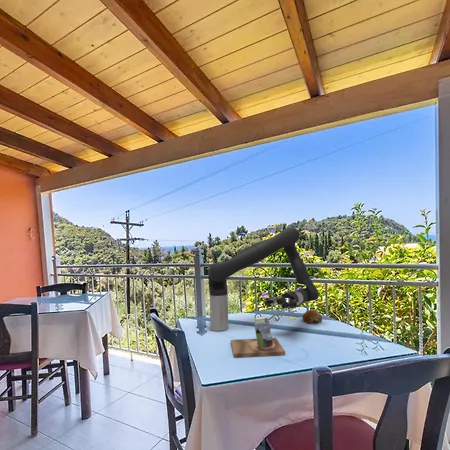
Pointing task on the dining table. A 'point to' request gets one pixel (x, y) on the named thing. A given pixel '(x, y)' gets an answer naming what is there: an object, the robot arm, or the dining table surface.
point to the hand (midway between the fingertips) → (273, 304)
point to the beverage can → (263, 332)
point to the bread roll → (312, 317)
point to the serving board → (255, 348)
